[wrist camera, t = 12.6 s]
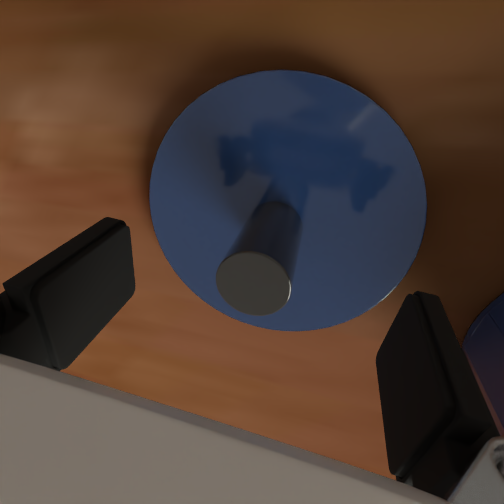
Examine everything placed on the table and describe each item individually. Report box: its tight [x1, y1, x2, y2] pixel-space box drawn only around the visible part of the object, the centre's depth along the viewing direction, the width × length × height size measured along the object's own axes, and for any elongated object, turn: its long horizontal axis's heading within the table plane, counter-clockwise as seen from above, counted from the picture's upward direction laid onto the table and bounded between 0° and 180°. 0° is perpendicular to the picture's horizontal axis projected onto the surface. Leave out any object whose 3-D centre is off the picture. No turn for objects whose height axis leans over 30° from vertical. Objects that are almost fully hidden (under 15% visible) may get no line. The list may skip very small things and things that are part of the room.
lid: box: [149, 69, 427, 331], centre depth 15 cm, size 15×15×7 cm
